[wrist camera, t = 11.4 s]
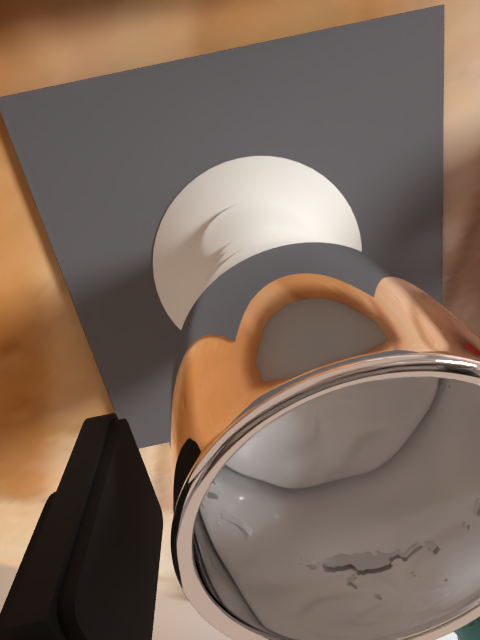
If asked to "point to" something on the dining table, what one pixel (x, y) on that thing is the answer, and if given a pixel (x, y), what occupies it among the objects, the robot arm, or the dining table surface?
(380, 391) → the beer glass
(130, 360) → the dark gray mat
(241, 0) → the dining table surface
